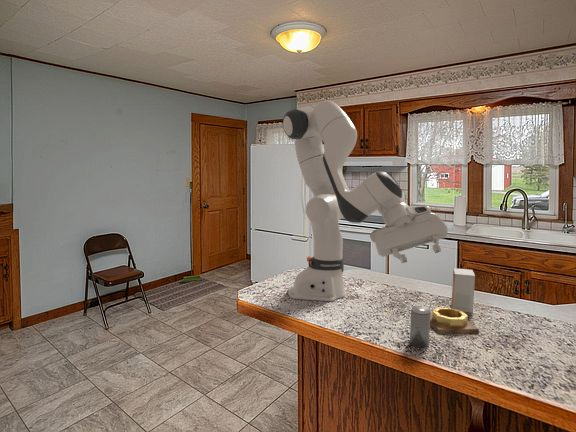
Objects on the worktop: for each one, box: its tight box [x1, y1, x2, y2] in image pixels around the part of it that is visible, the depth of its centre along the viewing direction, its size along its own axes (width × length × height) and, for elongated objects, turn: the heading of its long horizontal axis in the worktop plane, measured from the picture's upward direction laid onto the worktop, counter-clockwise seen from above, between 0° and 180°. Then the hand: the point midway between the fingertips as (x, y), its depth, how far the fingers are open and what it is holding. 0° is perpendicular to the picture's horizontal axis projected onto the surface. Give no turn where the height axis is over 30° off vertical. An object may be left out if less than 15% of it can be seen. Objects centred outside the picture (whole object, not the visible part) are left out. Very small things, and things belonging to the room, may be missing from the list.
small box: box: [451, 267, 476, 314], centre depth 125 cm, size 8×6×13 cm
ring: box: [431, 307, 468, 327], centre depth 111 cm, size 9×9×2 cm
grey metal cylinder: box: [409, 305, 431, 348], centre depth 99 cm, size 5×5×10 cm
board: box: [430, 313, 480, 334], centre depth 112 cm, size 12×12×1 cm
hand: (421, 256), depth 98 cm, fingers open, 8 cm apart
